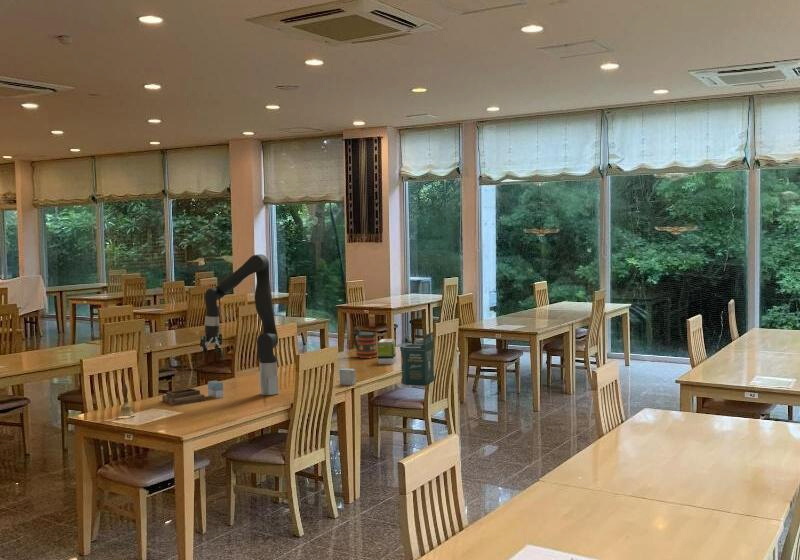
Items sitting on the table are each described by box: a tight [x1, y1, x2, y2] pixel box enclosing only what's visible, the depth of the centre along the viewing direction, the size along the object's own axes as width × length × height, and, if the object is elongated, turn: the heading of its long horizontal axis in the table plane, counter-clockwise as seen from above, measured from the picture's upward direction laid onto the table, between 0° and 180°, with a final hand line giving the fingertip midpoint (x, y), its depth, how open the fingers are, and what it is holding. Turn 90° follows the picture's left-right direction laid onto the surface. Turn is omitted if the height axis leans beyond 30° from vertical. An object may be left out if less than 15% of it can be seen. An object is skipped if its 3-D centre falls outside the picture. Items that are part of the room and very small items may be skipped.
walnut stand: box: [162, 387, 205, 406], centre depth 418 cm, size 16×16×5 cm
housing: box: [207, 380, 225, 399], centre depth 426 cm, size 9×4×8 cm, turn 40°
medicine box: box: [339, 368, 356, 386], centre depth 451 cm, size 8×4×9 cm, turn 71°
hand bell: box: [118, 383, 135, 416], centre depth 383 cm, size 8×8×16 cm
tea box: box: [376, 338, 397, 365], centre depth 525 cm, size 15×10×15 cm, turn 172°
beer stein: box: [352, 327, 378, 359], centre depth 551 cm, size 19×15×20 cm
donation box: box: [399, 331, 436, 387], centre depth 450 cm, size 16×16×28 cm
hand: (210, 353), depth 437 cm, fingers open, 8 cm apart
